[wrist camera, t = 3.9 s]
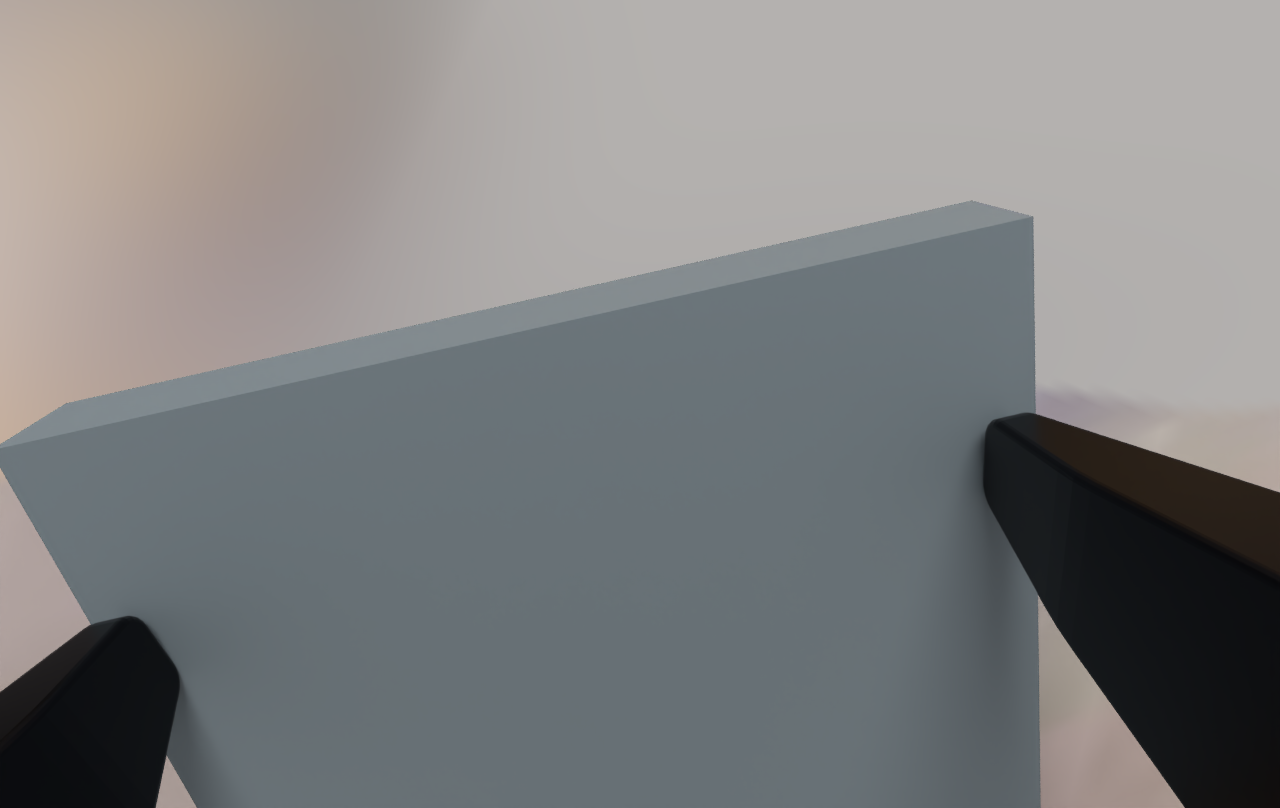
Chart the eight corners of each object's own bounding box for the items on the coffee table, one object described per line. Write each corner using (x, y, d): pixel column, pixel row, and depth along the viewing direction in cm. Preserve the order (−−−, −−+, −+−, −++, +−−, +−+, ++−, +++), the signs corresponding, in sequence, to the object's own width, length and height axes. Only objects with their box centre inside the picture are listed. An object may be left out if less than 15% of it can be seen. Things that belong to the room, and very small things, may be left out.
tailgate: (1041, 916, 11) (1033, 217, 7) (353, 1076, 11) (-9, 450, 7) (979, 809, 13) (946, 194, 9) (380, 948, 13) (96, 383, 9)
